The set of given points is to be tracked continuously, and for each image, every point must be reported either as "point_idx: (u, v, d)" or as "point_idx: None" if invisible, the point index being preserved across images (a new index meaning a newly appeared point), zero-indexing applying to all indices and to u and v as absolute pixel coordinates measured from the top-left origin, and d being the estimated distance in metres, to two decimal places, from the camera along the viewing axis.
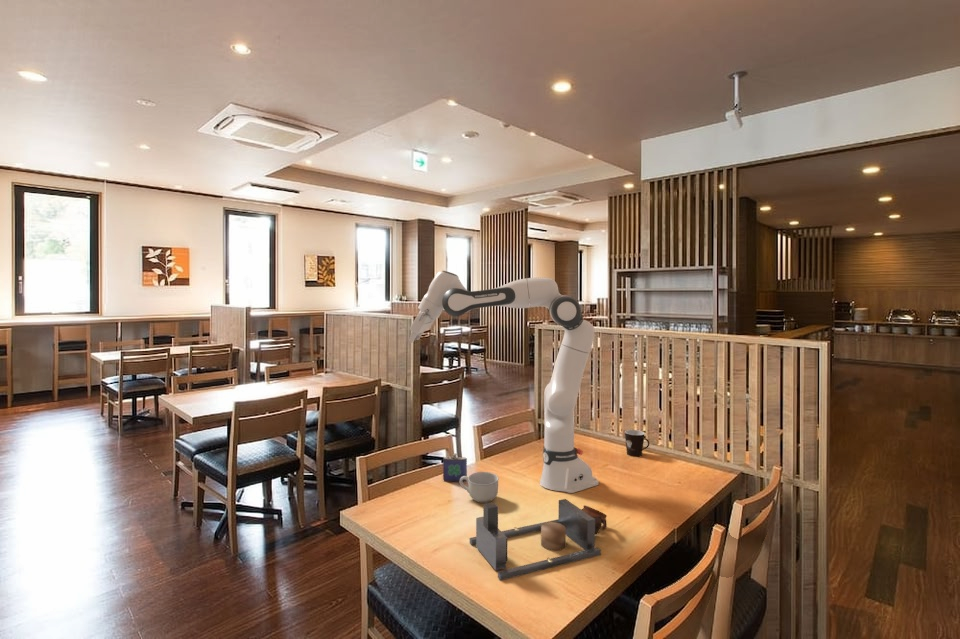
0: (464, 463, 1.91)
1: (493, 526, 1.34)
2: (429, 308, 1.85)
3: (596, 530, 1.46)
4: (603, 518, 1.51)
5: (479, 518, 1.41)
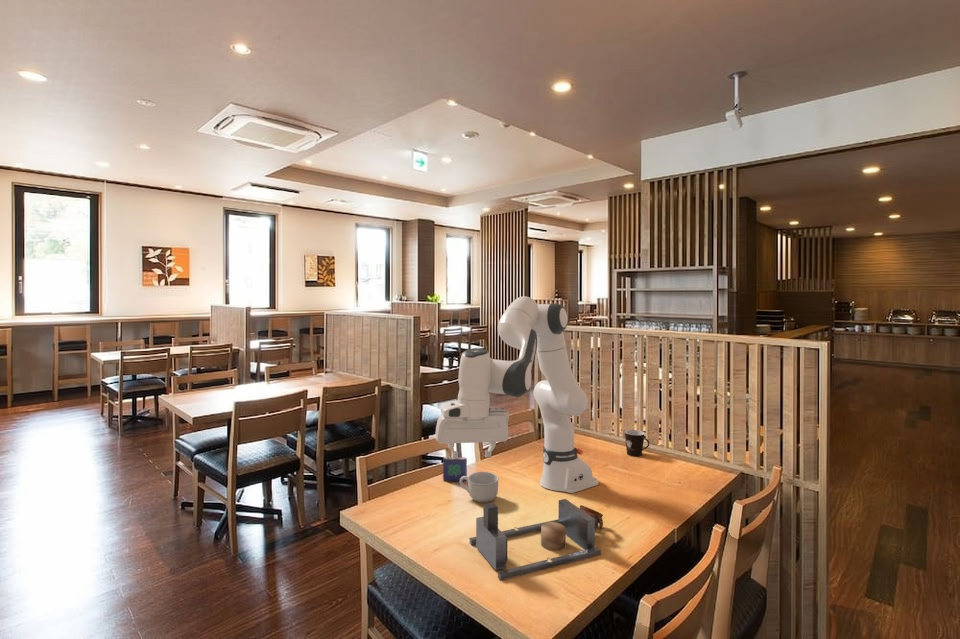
0: (464, 463, 1.91)
1: (493, 526, 1.34)
2: None
3: None
4: (599, 518, 1.51)
5: (479, 518, 1.41)
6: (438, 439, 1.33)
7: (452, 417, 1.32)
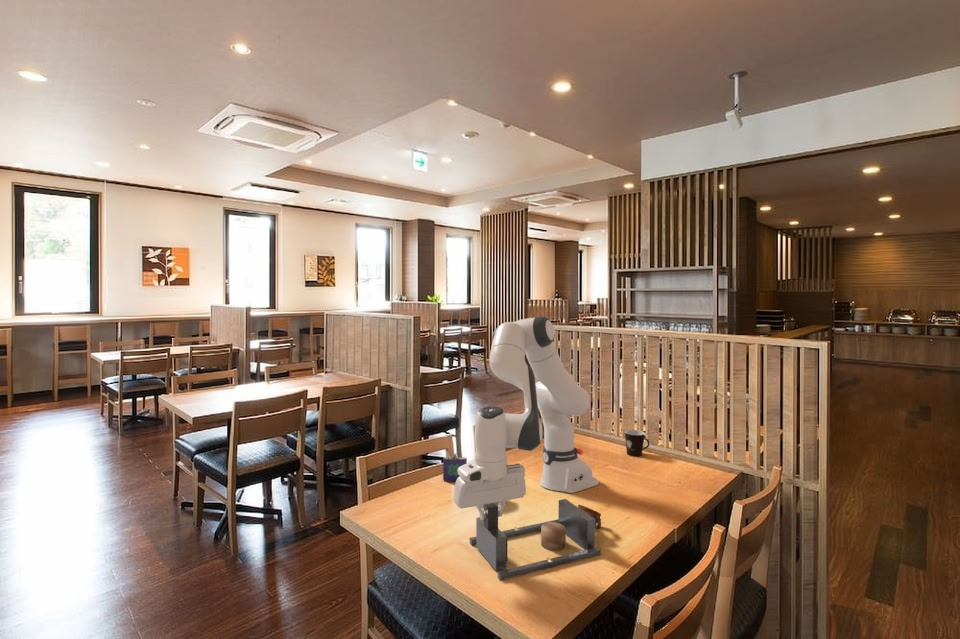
0: (464, 463, 1.91)
1: (493, 526, 1.34)
2: None
3: None
4: (598, 517, 1.51)
5: (479, 518, 1.41)
6: (459, 504, 1.30)
7: (473, 481, 1.29)
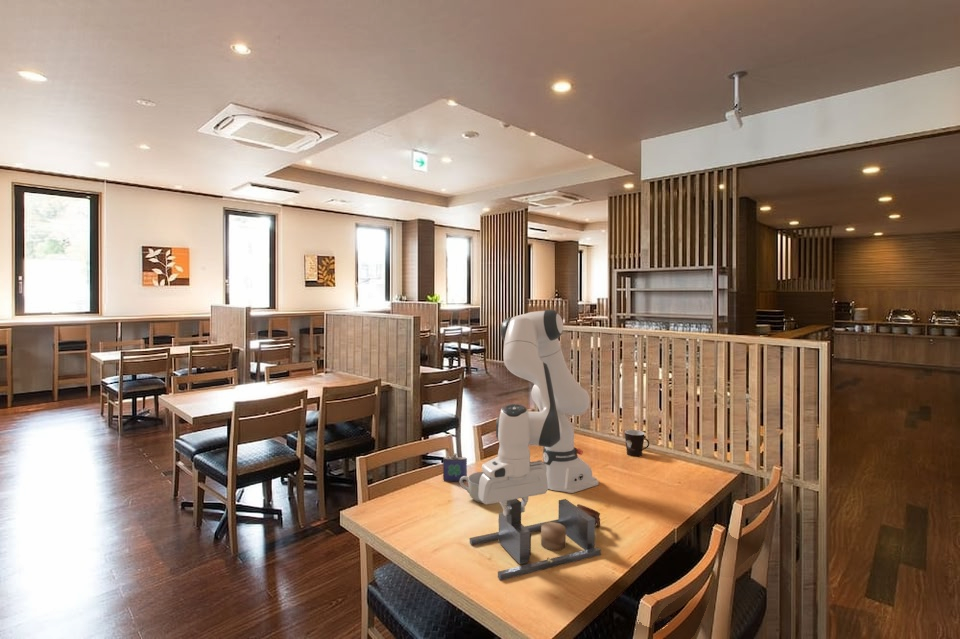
0: (464, 463, 1.91)
1: (516, 522, 1.37)
2: None
3: None
4: (597, 516, 1.52)
5: (501, 514, 1.43)
6: (484, 500, 1.32)
7: (497, 477, 1.32)
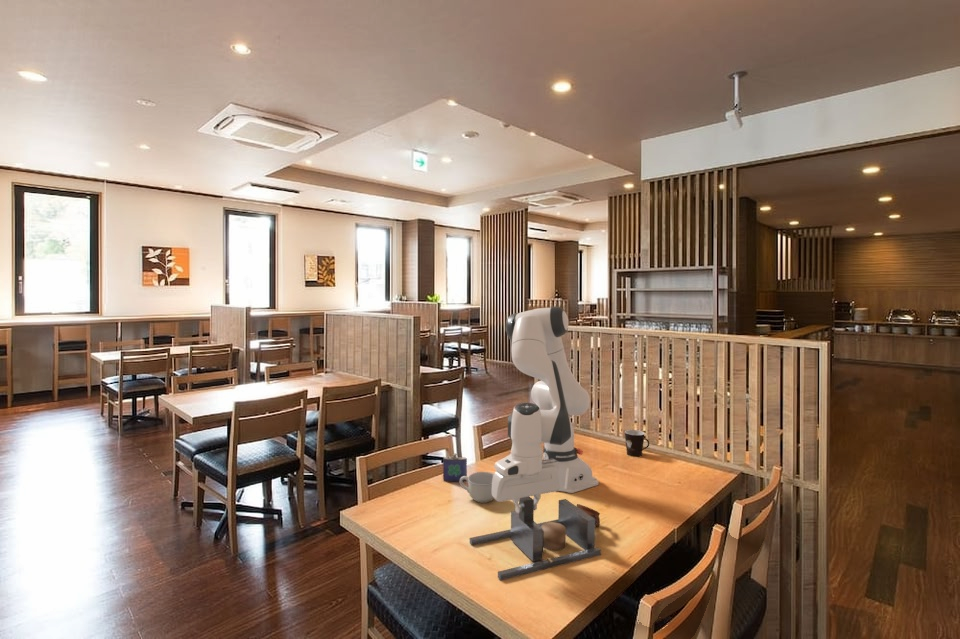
0: (464, 463, 1.91)
1: (529, 519, 1.39)
2: None
3: None
4: (597, 516, 1.52)
5: (514, 511, 1.45)
6: (497, 498, 1.34)
7: (511, 475, 1.34)
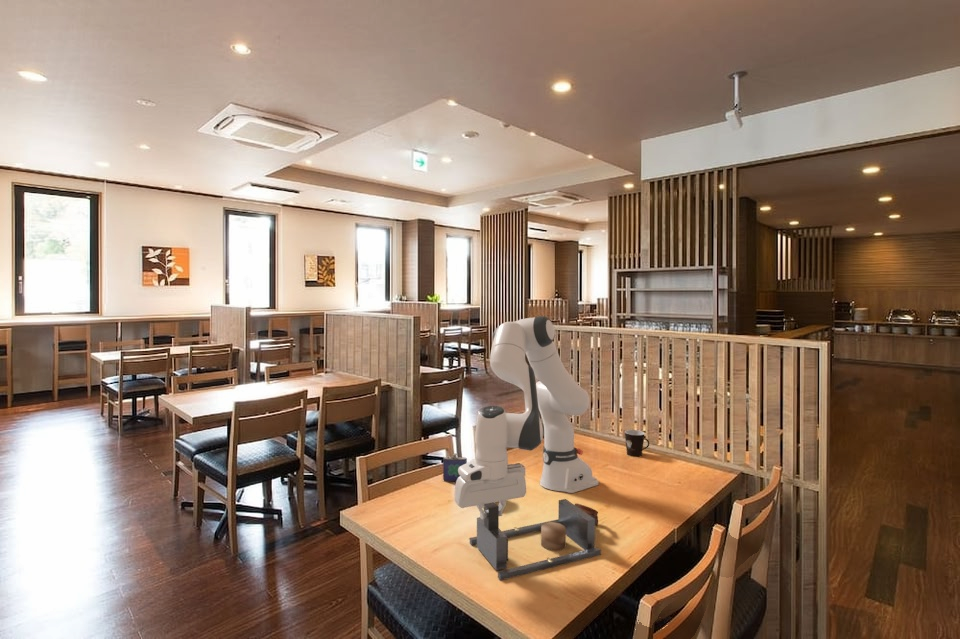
0: (464, 463, 1.91)
1: (494, 526, 1.34)
2: None
3: None
4: (595, 515, 1.53)
5: (480, 518, 1.41)
6: (460, 504, 1.30)
7: (474, 480, 1.29)
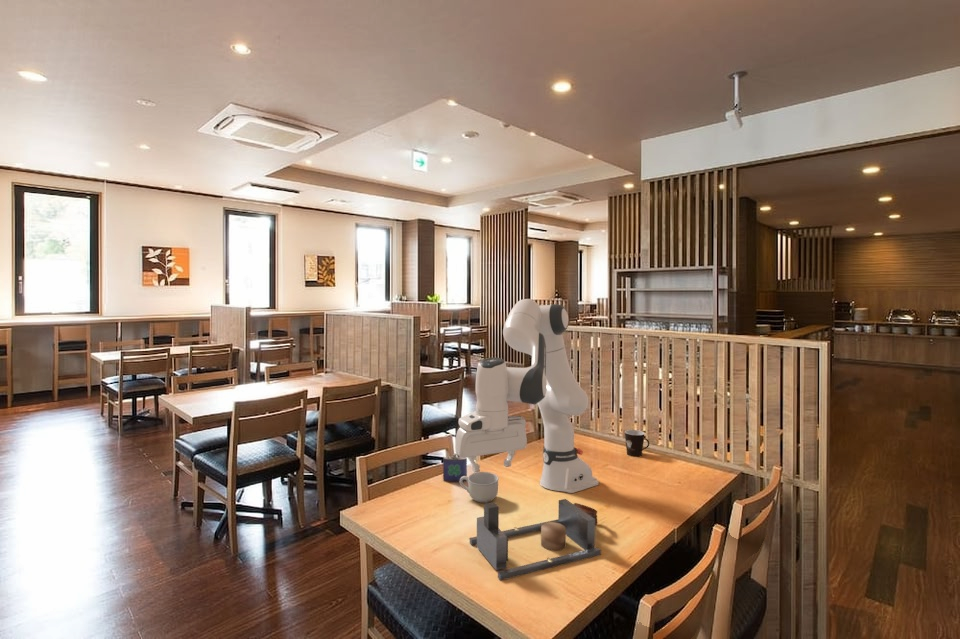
0: (464, 463, 1.91)
1: (494, 526, 1.34)
2: None
3: None
4: (595, 514, 1.53)
5: (480, 518, 1.41)
6: (461, 454, 1.29)
7: (474, 430, 1.29)
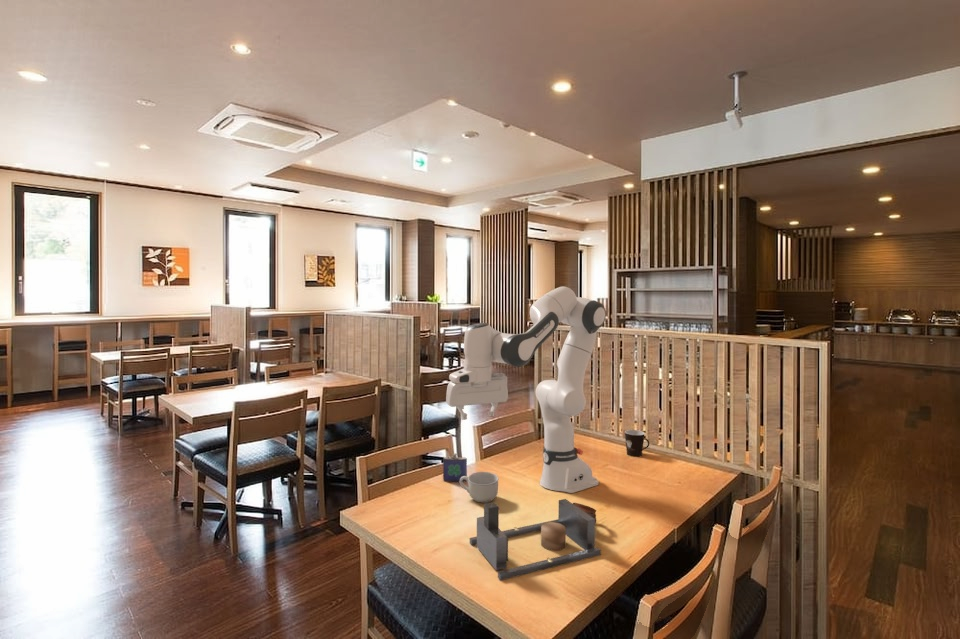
0: (464, 463, 1.91)
1: (494, 526, 1.34)
2: None
3: None
4: (594, 513, 1.54)
5: (480, 518, 1.41)
6: (450, 403, 1.52)
7: (462, 383, 1.52)
